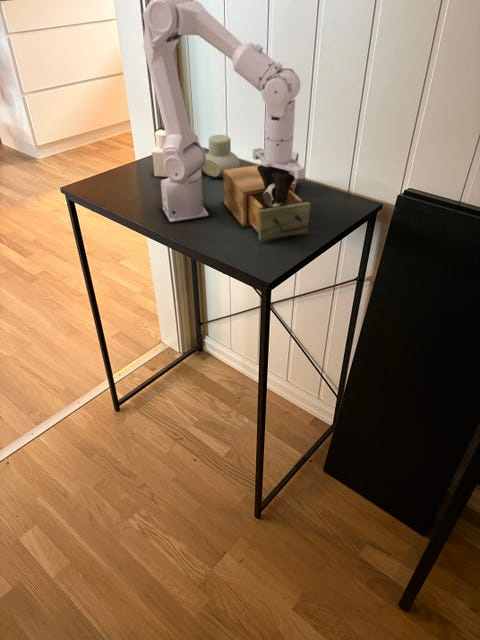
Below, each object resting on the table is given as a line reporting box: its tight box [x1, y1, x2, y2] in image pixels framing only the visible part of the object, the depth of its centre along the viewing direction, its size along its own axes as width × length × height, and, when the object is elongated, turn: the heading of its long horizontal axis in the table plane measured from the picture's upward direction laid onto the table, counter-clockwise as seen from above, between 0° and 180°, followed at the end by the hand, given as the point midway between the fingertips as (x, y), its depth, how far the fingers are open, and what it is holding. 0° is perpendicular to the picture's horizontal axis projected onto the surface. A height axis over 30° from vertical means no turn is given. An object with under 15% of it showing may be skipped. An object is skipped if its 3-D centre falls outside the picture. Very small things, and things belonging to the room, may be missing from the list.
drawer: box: [247, 189, 311, 242], centre depth 108 cm, size 17×11×7 cm, turn 21°
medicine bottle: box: [151, 126, 169, 178], centre depth 135 cm, size 7×7×12 cm
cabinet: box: [222, 164, 296, 228], centre depth 117 cm, size 14×13×9 cm
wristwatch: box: [263, 183, 281, 207], centre depth 107 cm, size 3×5×5 cm, turn 132°
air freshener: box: [201, 134, 241, 179], centre depth 135 cm, size 11×8×10 cm
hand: (275, 199), depth 108 cm, fingers closed on wristwatch, 2 cm apart
